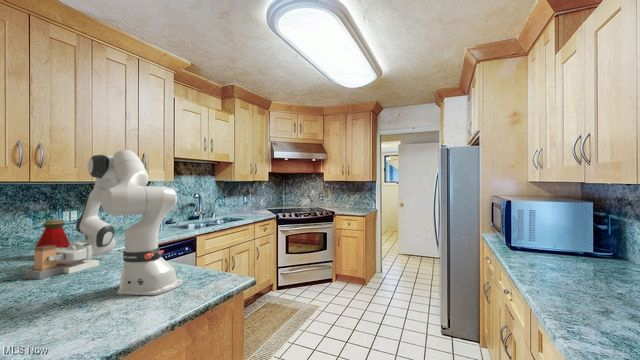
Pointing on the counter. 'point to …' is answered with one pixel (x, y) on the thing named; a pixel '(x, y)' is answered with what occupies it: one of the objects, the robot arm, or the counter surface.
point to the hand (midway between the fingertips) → (43, 258)
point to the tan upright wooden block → (44, 257)
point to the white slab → (62, 268)
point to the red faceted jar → (54, 234)
